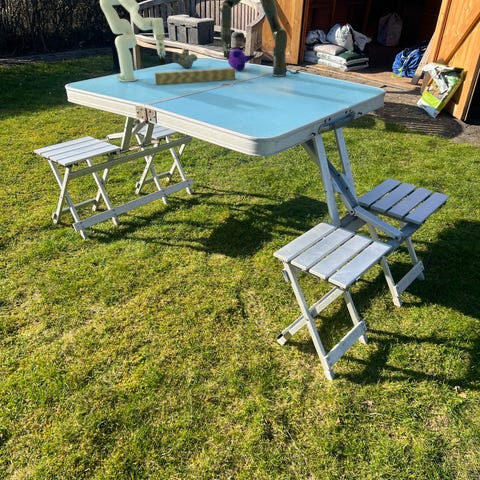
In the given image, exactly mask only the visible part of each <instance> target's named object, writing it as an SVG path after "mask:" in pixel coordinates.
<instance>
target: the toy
mask: <svg viewBox="0 0 480 480" xmlns="http://www.w3.org/2000/svg"><path fill="white" fill-rule="evenodd" d="M229 54H230V59H227V63H228V64H229V66H230V68H234V69H235V70H236V71H237V72H241V71H243V70H244V69H245V68H246V63H247V62H249V61H251V60H252V59H254V58H256V57H257V55H258V54H250V55H245V53H244V52H243V50H241V49H239V48H235V49H233V50H230V53H229Z"/></svg>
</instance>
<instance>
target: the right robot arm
mask: <svg viewBox="0 0 480 480" xmlns="http://www.w3.org/2000/svg"><path fill="white" fill-rule="evenodd" d="M241 1H242V0H224V1H223V2H221V4H220V5H219V12H220V14H221V18H220V42H222V51H223V58H225V59H226V60H228V59H230V54H229V53H230V52H231V44H230V42H232V28H231V25H232V24H231V23H232V22H231V18H232V9H233V8H234V7H235V6H237V5H238V4H239V3H240V2H241ZM259 1H260V4H261V7H262V10H263V12H264V15H265V17H266V20H267V22H268V24H269V27H270V31H271V36H272V39H273V40H274V46H273V51H272V53H273V55H272V56H273V57H272V58H273V59H272V60H273V61H272V76H273V77H276V78H277V77H279V78H280V77H286V76H287V73H288V72H290V74H299V71H306V72H309V70H307V68H300V69H296V70H295V71H293V72H292V71H291V70H290V69H288V68H287V62H286V55H287V54H286V53H287V52H286V51H287V48H288V33H287V30H285V29H284V28H283V27H282V26H281V23H280V21H279V17H278V16H279V15H278V14H279V13H278V7H277V5H276V2H275V0H259Z"/></svg>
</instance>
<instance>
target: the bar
mask: <svg viewBox="0 0 480 480" xmlns="http://www.w3.org/2000/svg"><path fill="white" fill-rule="evenodd" d="M231 80H236V69H234V68H232V67H227V68H224V67H223V68H209V69H196V70H194V69H193V70H179V71H178V70H177V71H166V72H165V71H164V72H154V81H155V85H156V86H161V85H173V84H174V85H175V84H176V85H177V84H189V83H190V84H191V83H203V82H216V81H231Z"/></svg>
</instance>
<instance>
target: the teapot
mask: <svg viewBox="0 0 480 480" xmlns="http://www.w3.org/2000/svg"><path fill="white" fill-rule="evenodd" d="M177 57H178V59H177ZM197 60H198V56H197V55H196V54H195V53H190V54H189V52H188V51H187V49H186V48H184V49H183V51H182V53H180V52H177V51H174V52H173V53H172V61H173V63H175V64H177V65H179V66H180V67H182V68H183V69H190V68H191V67H193V65H194V62H196V61H197Z"/></svg>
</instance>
